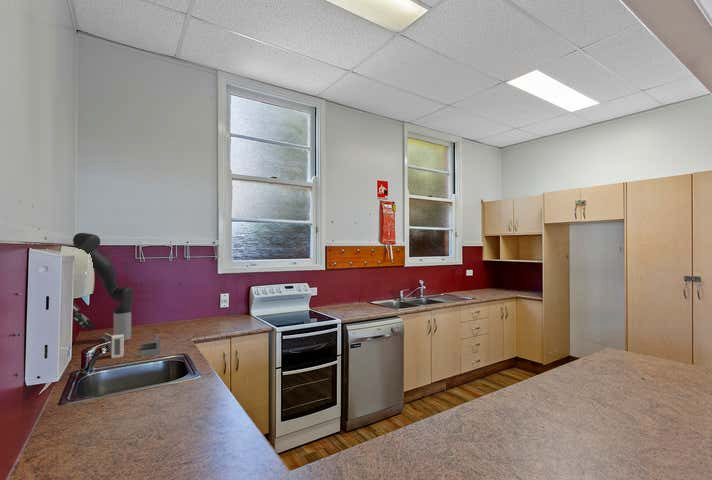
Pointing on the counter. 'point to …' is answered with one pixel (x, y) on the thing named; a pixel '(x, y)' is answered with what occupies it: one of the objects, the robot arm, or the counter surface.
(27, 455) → the counter surface
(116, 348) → the beige grey rectangular block
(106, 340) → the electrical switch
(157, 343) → the bracket
